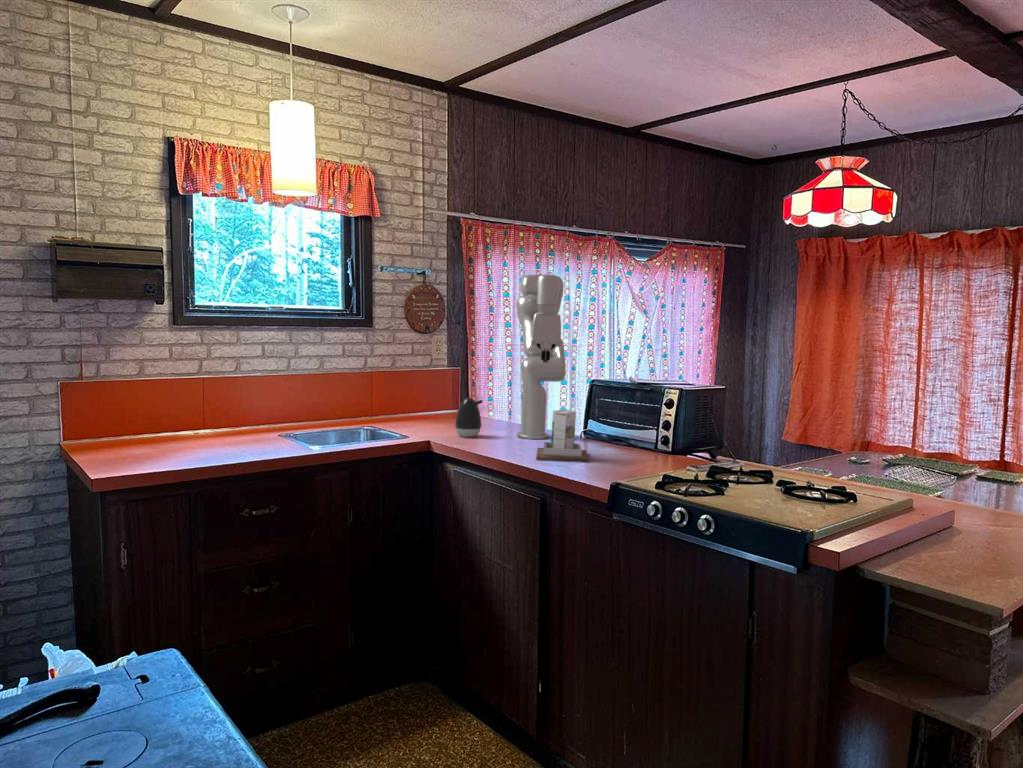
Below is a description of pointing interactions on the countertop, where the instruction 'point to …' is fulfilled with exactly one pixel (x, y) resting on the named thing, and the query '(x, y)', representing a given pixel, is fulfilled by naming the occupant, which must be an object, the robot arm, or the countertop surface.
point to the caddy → (562, 453)
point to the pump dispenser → (468, 418)
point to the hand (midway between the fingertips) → (545, 362)
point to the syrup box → (563, 429)
